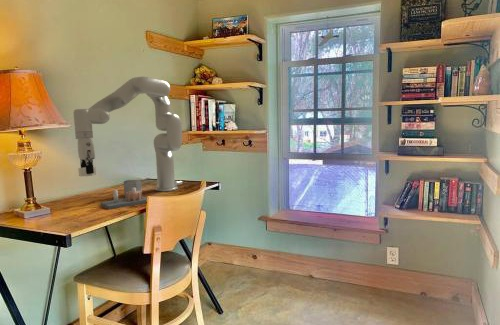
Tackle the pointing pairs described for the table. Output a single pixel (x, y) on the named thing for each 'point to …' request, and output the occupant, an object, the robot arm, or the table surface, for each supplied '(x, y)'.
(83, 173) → the gear
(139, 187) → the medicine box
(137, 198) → the gear board
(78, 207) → the table surface
